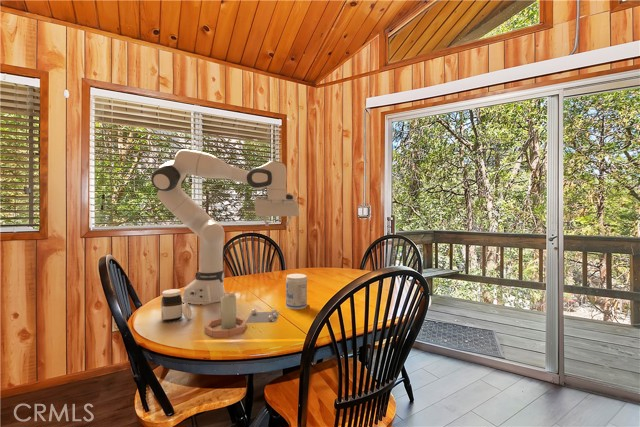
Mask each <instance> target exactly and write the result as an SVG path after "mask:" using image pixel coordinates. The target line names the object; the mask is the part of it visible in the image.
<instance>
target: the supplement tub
mask: <svg viewBox="0 0 640 427" xmlns="http://www.w3.org/2000/svg"><path fill="white" fill-rule="evenodd" d="M307 297H308V276H307V275H306V274H303V273H290V274H287V275H286V279H285V307H286V308H287V309H290V310H302V309H306V308H307V307H308V304H307V303H308V301H307V300H308V298H307Z"/></svg>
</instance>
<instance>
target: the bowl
mask: <svg viewBox="0 0 640 427" xmlns="http://www.w3.org/2000/svg"><path fill="white" fill-rule="evenodd" d="M236 324H238V326H236V327H235V328H232V329H229V330H222V329H214V328H213V327H216V326H218V325H221V317H219V318H214V319H210V320H209V321H208V322H207V323H206V324H205V325H204V328H203V329H204V330H203V331H204V333H205V334H206V335H208V336H210V337H212V338H214V337H215V338H219V337H220V338H223V337H225V338H228V337H233V336H236V335H239V334H241V333H244V332H245V329H246V328H247V326H248V323H247V319H245V318H243V317H240V316H236Z"/></svg>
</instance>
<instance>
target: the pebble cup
mask: <svg viewBox="0 0 640 427" xmlns="http://www.w3.org/2000/svg"><path fill="white" fill-rule="evenodd" d="M236 317H237V295H236V294H235V293H234V292H232V291H231V292H230V293H229V292H226V291H225V293H224V296H221V301H220V318H221V324H220V330H229V329H232V328H235V327H237V323H236Z"/></svg>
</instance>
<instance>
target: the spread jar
mask: <svg viewBox="0 0 640 427" xmlns="http://www.w3.org/2000/svg"><path fill="white" fill-rule="evenodd" d="M181 293H182V291H181V289H179V288H178V289H177V288H173V289H171V288H170V289H164V290H163V291H162V293H161V294H162V297H161V298H160V299H161V301H160V305H161V306H160V307H161V308H160V309H161V310H160V312H161V314H160V315H161V321H162V322H163V321H164V322H163V323H173V321H175V322H177V320H178V321H180V320H181V319H182V318H183V317H184V319H185V320H187V321H188V320H191V319H192V318H193V311H192V308H191V306H190V305H191V304H188V303H184V304H183V303H182V295H181Z"/></svg>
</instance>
